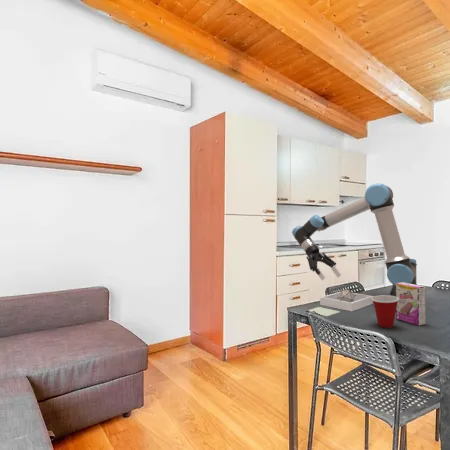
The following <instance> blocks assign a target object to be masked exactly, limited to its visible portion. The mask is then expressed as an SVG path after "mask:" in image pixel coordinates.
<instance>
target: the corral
mask: <svg viewBox="0 0 450 450" xmlns="http://www.w3.org/2000/svg"><path fill="white" fill-rule="evenodd" d="M340 293H341V291H337V292H335V293H331V294H326V295H324V296H320V297H319V304H320V306H323V307H324V306H325V307H328V308H332V309H333V308H334V309H339V310H344V311H347V312H354V311H357V310H359V309H362V308H365V307H368V306H371V305H374V303H373V301H372V300H371V298H372V297H374V295H369V294H368V295H367V294H362V293H356V292H352V293H353V294H354V295H356V296H355V297H354V299H353V302H351V303H350V302H345V301H341V300H340V299H338V298H339V296H340Z"/></svg>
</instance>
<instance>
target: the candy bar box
mask: <svg viewBox="0 0 450 450" xmlns="http://www.w3.org/2000/svg"><path fill="white" fill-rule="evenodd" d="M396 297H398V298H399V301H398V303H397V307H396V314H395V320H398V321H401V322H404V323H408V324H412V325H416V326H418V327H419V326H423V325H426V324H427V323H426V319H427V318H426V305H427V304H426V286H424V285H418V284H416V285H414V284H409V283H404V282H401V283H396Z"/></svg>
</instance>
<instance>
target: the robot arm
mask: <svg viewBox="0 0 450 450" xmlns="http://www.w3.org/2000/svg"><path fill="white" fill-rule="evenodd" d="M393 198H394V193H393V190H392V188H390V187H389V186H388V185H386V184H384V183H373V184H371V185H370V186H368V187H367V188H366V190H365V193H364V197H362V198H360V199H357V200H355V201H353V202H351V203H349V204H347V205H344V206H342V207H340V208H338V209H336V210H333V211H332V212H329V213H327V214H325V215H324V216H323V215H322V216H320V215H318V214H314V215H313V216H311V217H310V218H309V219H308V220H307V222H305V223H304V224H303V225H298V226H296V227H294V228H293V229H292V230H291V231H292V232H291V233H292V236H293V237H294V239H295V240H296V242H297V243H298V245H299V246H300V247H301V249H302V250H303V252H305V254H306V259H307V262H308V266H309V269H310V271H312V273H313V272H315V274H317V276H318V277H319V278H320V280H321V281H324V280H325V278H326V275H325V274H324V273H323V271H322V270H321V269H320V267H318V262H320V263H323V264H325V265H326V266H328V267H330V269H331V271H332V272H333V273H334V274H335V276H336V277H337V278H340V277H341V276H342V273H341V272H340V270H339V269H338V268H337V267H336V265H337V263H336V261H334V260H333V259H331V258H330V257H329V256H328V255H326V253H325V252H322V253H321V252H320V248H319V247H318V245H316V243H315V241H314V240H313V239H312V238H311V236H312V235H314V234H315V232H319V231H320V232H321V231H326V230H327V229H328V228H330V227H333V226H335V225H337V224H339V223H341V222H343V221H346V220H348V219H350V218H353V217H355V216H358V215H359V214H361V213H365V212H367V211H369V210H370V213H372V214H374V217H375V220H376V223H377V227H378V231H379V234H380V239H381V242H382V244H383V248H384V252H385V256H386V259H385V261H384V264H385V268H386V278H387V279H388V281H389V283H391V284H392V287H391V290H390V292H389V294H388V295H389V296H395V297H396V283H401V282H404V283H409V284H414V285H417V266H418V264H417V260H416V259H415V258H410V257H409V256H408V255H406V253H405V250H404V246H403V243H402V240H401V235H400V232H399V229H398V225H397V222H396V219H395V215H394V212H393V209H394V207H395V203H394V200H393Z"/></svg>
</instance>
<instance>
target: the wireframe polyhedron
mask: <svg viewBox="0 0 450 450" xmlns="http://www.w3.org/2000/svg"><path fill="white" fill-rule="evenodd" d="M340 292H341V293H340V296H339V298H338V299H340V301H345V302H350V303H351V302H354V301H353V299H354V297H355V296H356V295H354V294H353V293H354V292H352V291H351V290H350V288H348V289H340Z"/></svg>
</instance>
